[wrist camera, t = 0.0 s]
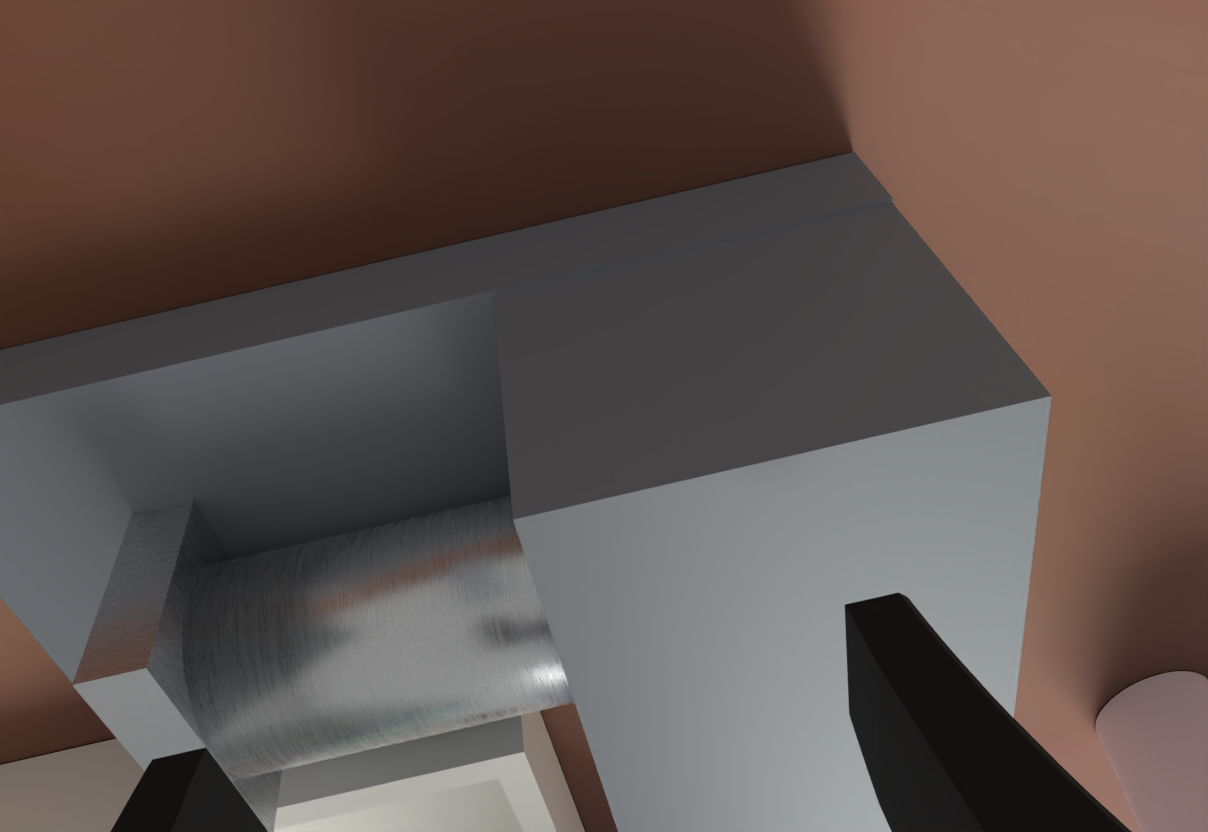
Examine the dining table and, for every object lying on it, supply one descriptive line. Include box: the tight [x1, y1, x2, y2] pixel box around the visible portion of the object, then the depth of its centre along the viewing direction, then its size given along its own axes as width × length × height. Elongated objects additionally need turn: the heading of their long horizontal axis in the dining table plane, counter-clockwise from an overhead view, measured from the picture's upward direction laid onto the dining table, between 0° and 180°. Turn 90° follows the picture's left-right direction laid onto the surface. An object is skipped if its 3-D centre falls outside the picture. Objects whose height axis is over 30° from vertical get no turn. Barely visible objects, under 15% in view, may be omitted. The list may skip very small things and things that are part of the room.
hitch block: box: [0, 152, 1052, 832], centre depth 19 cm, size 18×11×8 cm, turn 100°
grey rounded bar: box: [72, 496, 575, 832], centre depth 19 cm, size 13×5×4 cm, turn 100°
